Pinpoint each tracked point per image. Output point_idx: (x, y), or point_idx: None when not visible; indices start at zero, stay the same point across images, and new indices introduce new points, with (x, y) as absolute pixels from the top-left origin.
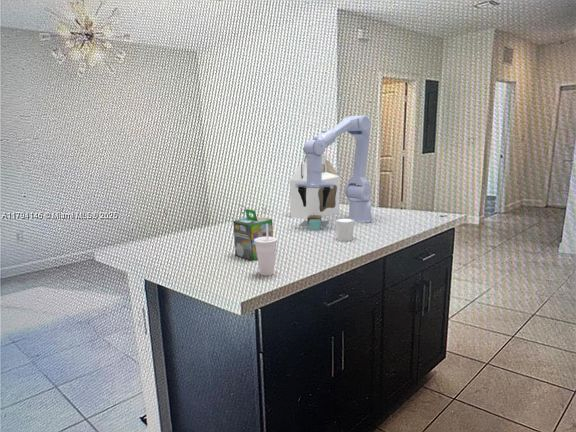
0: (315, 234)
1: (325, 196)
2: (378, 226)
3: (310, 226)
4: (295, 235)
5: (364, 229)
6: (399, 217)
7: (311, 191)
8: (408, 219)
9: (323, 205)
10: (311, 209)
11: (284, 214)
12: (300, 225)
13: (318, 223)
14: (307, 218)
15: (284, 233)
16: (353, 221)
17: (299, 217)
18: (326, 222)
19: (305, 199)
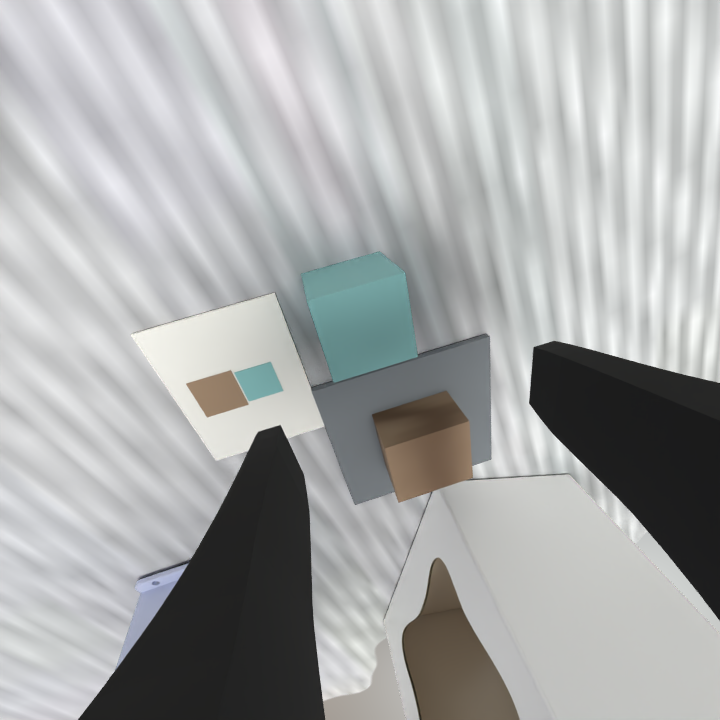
0: (277, 156)
1: (173, 625)
2: (24, 553)
3: (377, 264)
4: (434, 26)
5: (37, 465)
6: (86, 689)
7: (576, 697)
8: (15, 692)
9: (266, 441)
10: (488, 538)
11: (603, 505)
12: (482, 349)
13: (310, 292)
14: (465, 416)
15: (548, 74)
16: None
17: (527, 482)
18: (356, 475)
19: (612, 452)
